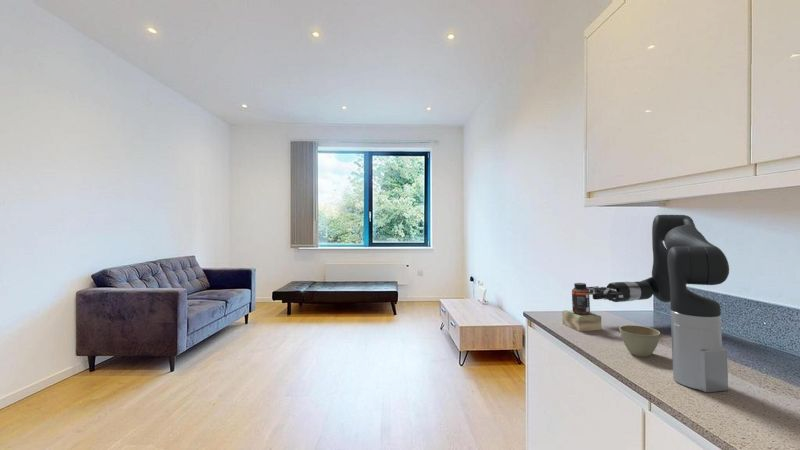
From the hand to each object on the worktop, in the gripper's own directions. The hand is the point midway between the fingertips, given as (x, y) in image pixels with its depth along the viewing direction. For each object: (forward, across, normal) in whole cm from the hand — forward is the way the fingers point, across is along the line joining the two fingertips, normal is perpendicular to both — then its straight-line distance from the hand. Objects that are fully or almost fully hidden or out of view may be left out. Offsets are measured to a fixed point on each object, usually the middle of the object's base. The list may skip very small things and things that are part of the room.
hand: (585, 294), depth 130 cm
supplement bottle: (+2, 0, +7) cm, 8 cm away
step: (+2, 0, +12) cm, 12 cm away
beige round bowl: (+4, +28, +12) cm, 31 cm away
